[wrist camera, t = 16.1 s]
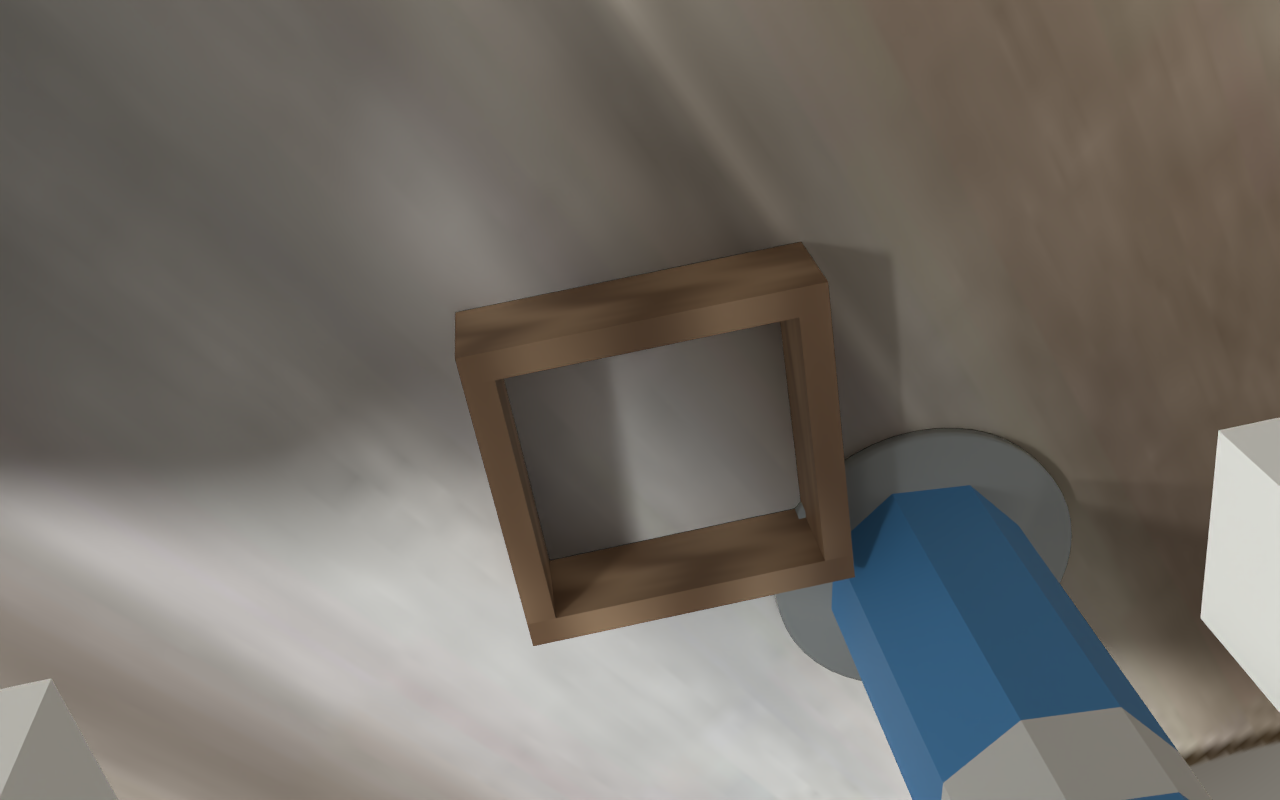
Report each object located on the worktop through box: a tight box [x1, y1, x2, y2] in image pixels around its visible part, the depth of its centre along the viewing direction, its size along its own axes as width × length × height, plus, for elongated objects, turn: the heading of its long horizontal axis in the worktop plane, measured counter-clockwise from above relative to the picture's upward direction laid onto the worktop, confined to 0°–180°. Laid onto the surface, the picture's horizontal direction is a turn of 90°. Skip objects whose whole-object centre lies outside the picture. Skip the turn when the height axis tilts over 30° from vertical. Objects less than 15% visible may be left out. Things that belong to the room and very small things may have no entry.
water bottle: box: [832, 485, 1212, 800], centre depth 44 cm, size 9×9×25 cm
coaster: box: [775, 428, 1072, 681], centre depth 55 cm, size 14×14×1 cm
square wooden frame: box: [455, 242, 855, 646], centre depth 49 cm, size 14×14×4 cm
